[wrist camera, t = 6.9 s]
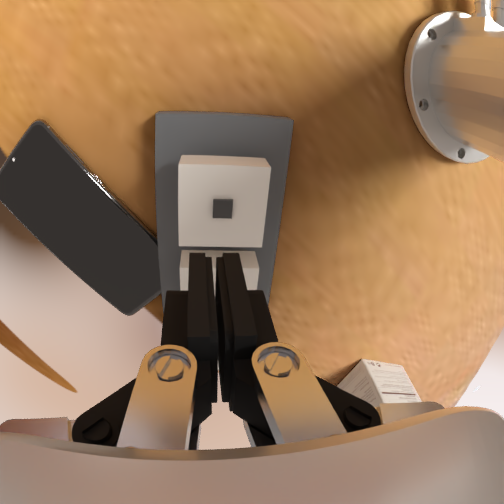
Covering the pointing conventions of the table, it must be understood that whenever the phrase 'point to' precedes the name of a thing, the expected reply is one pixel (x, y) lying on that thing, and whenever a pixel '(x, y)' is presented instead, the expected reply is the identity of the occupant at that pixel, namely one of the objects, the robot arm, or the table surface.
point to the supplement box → (379, 383)
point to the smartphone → (80, 219)
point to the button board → (217, 144)
